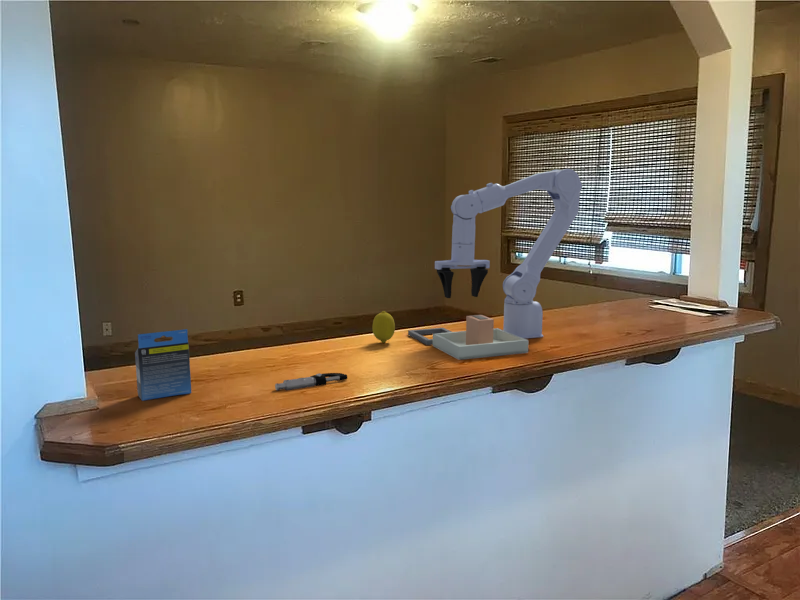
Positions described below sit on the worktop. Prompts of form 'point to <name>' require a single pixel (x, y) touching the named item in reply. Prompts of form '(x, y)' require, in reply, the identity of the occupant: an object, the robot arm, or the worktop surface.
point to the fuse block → (479, 329)
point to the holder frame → (418, 333)
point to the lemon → (383, 326)
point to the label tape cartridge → (163, 365)
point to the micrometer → (310, 381)
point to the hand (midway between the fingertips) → (461, 297)
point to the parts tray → (480, 345)
